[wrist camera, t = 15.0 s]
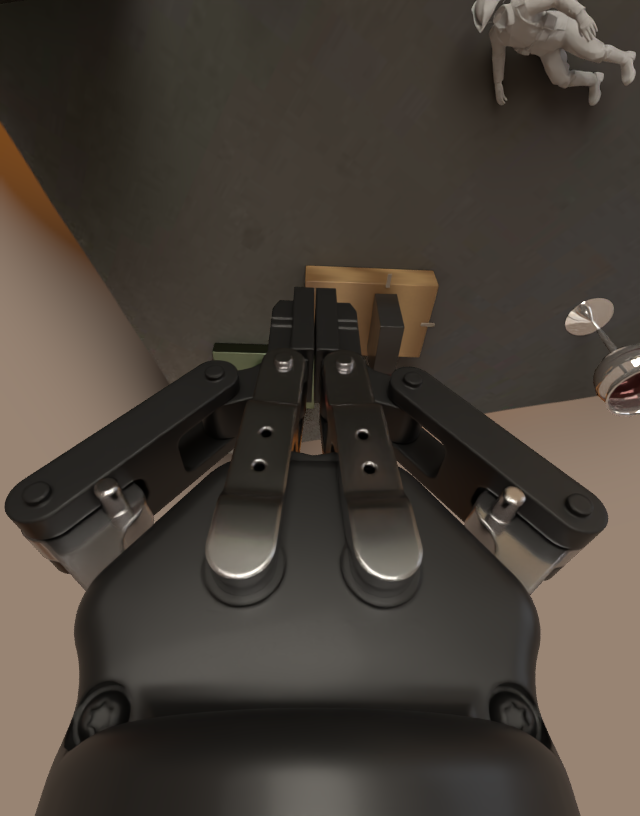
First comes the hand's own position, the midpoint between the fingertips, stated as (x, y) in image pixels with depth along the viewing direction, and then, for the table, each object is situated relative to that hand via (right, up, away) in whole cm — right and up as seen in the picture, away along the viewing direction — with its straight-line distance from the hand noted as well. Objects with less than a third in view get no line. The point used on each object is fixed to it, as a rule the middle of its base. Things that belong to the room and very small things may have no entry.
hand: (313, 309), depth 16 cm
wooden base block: (+5, +8, +31) cm, 33 cm away
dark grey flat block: (+7, +5, +29) cm, 31 cm away
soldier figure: (+16, +23, +16) cm, 32 cm away
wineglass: (+30, +7, +33) cm, 45 cm away
